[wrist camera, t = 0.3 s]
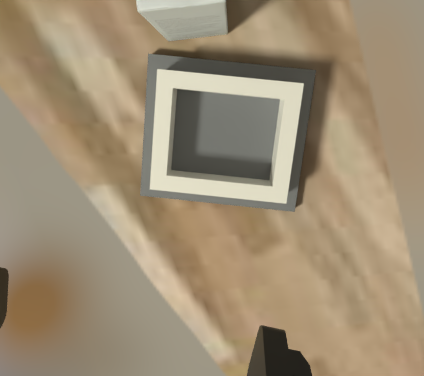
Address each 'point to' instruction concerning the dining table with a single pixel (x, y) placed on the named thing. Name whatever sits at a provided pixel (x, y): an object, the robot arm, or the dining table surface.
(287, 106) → the socket plate
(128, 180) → the dining table surface
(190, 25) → the skincare box
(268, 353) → the robot arm
